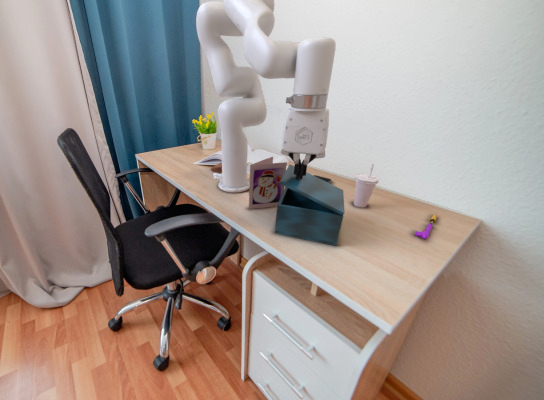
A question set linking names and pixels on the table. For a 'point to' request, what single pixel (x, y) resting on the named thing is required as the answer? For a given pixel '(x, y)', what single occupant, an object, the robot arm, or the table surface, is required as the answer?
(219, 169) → the sunglasses case
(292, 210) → the keepsake box
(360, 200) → the smoothie
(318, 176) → the phone
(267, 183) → the greeting card
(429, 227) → the purple bent handle tool
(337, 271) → the table surface
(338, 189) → the lid
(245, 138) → the robot arm
